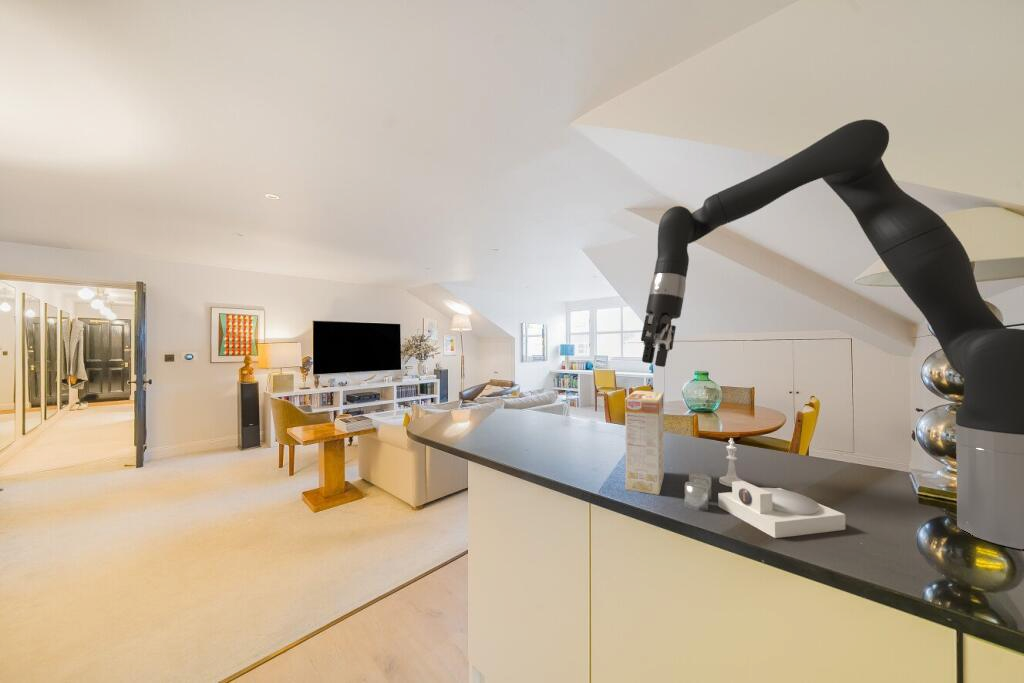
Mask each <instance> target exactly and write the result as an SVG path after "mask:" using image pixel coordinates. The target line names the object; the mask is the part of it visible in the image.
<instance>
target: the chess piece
mask: <svg viewBox="0 0 1024 683" xmlns="http://www.w3.org/2000/svg"><path fill="white" fill-rule="evenodd" d="M728 443H729V445H726V447H725V448H726V450H727V452H728V453H727V454H728V455H727V456H726V457H725V458H726V459H727V460H728V467H727V473H726V474H725V475H724V476H720V477H719V480H718V482H719V483H720V484H721V485H724V486H727V487H731V488H732V482H735V481H744V480H742V479H741V478H739V477H738V475H737V473H736V467H735V461H736V460H738V457H736V456H735V454H736V452H737V449H738V447H737V446H735V441H734V437H730V438H729V440H728Z"/></svg>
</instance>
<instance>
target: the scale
mask: <svg viewBox="0 0 1024 683" xmlns="http://www.w3.org/2000/svg"><path fill="white" fill-rule="evenodd" d="M731 490H732V491H730V492H718V494H717V495H718V496H717V497H718V506H717V507H718V508H720V509H722V510H724V511H726V512H728V513H729V514H731V515H732V516H735V517H736V518H738V519H740V520H742V522H745V523H747V524H749V525H751V526H752V527H755V528H756V529H758V530H760V531H761V532H763V533H765V534H767V535H769V536H771V537H772V538H773V539H777V538H779V539H781V538H786V537H787V538H788V537H796V536H804V535H811V534H812V535H813V534H821V533H828V532H837V531H844V530H846V514H845V513H843V512H841V511H838V510H836V509H832V508H830V507H828V506H825V505H823V504H822V503H821V504H820V503H818V502H817V501H815V500H814V499H812V498H810V497H808V496H807V495H806V496H805V495H803V494H801V493H798V492H794V491H790V490H786V489H784V488H781V487H776V488H775V487H774V488H773V487H758V486H756V485H754V484H751V483H749V482H747V481H745V480H743V481H735V482H732V487H731Z"/></svg>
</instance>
